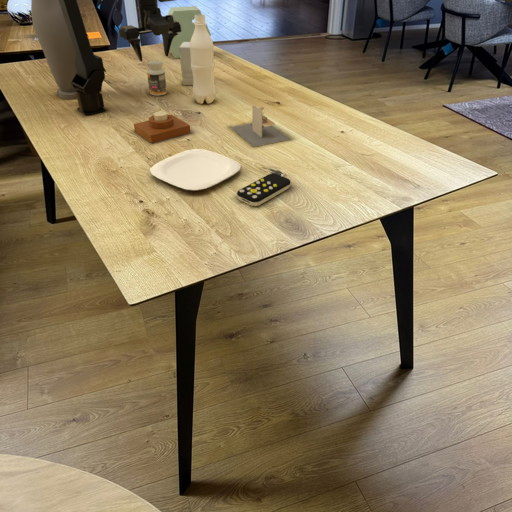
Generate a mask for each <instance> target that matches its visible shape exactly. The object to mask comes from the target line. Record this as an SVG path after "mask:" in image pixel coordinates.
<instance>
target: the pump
mask: <svg viewBox="0 0 512 512" xmlns="http://www.w3.org/2000/svg"><path fill="white" fill-rule="evenodd" d="M167 114H168V112H167V111H163V110H157V111H156V112H155V111H154V113H153V115H154V120H155V121H164V120H167V119H168V116H167Z"/></svg>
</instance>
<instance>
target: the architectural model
mask: <svg viewBox="0 0 512 512" xmlns="http://www.w3.org/2000/svg"><path fill="white" fill-rule="evenodd" d="M251 108H252V109H251V110H252V114H251V115H252V119H251V120H252V121H251V123H245V124H240V125H235V126H230V129H231V130H233V132H235V133H236V134H238V136H240V137H241V138H242V139H243V140H245V142H247V143H248V144H249V145H251V146H252V147H253V148H255V147H260V146H261V147H262V146H265V145H270V144H276V143H280V142H284V141H289V140H291V138H290V137H289V136H288V135H286V134H285V133H283V132H282V131H280V130H279V129H278V128H276V127H275V126H276V123H275V122H274V121H272V120H270V119H269V118H268V116H266V115H265V114H264V113H263V110H264V108H265V106H260V107H258V106H257V105H255V104H254V103H252V107H251Z"/></svg>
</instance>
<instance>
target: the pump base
mask: <svg viewBox="0 0 512 512" xmlns="http://www.w3.org/2000/svg"><path fill="white" fill-rule="evenodd" d="M167 116H168V119H167V120H164V121H155V120H154V114H153V115H151V116H149V117H148V120H145V121H140V122H136V123H133V129H134V132H135V133H136V134H137V135H139V136H140V137H142V138H144V139H145V140H146V141H148V142H149V143H150V144H154V143H158V142H162V141H165V140H170V139H173V138H175V137H179V136H182V135H187V134H191V124H189V123H188V122H186V121H184V120H182V119H180V118H179V117H177V116H175V115H173V114H168V113H167Z"/></svg>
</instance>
